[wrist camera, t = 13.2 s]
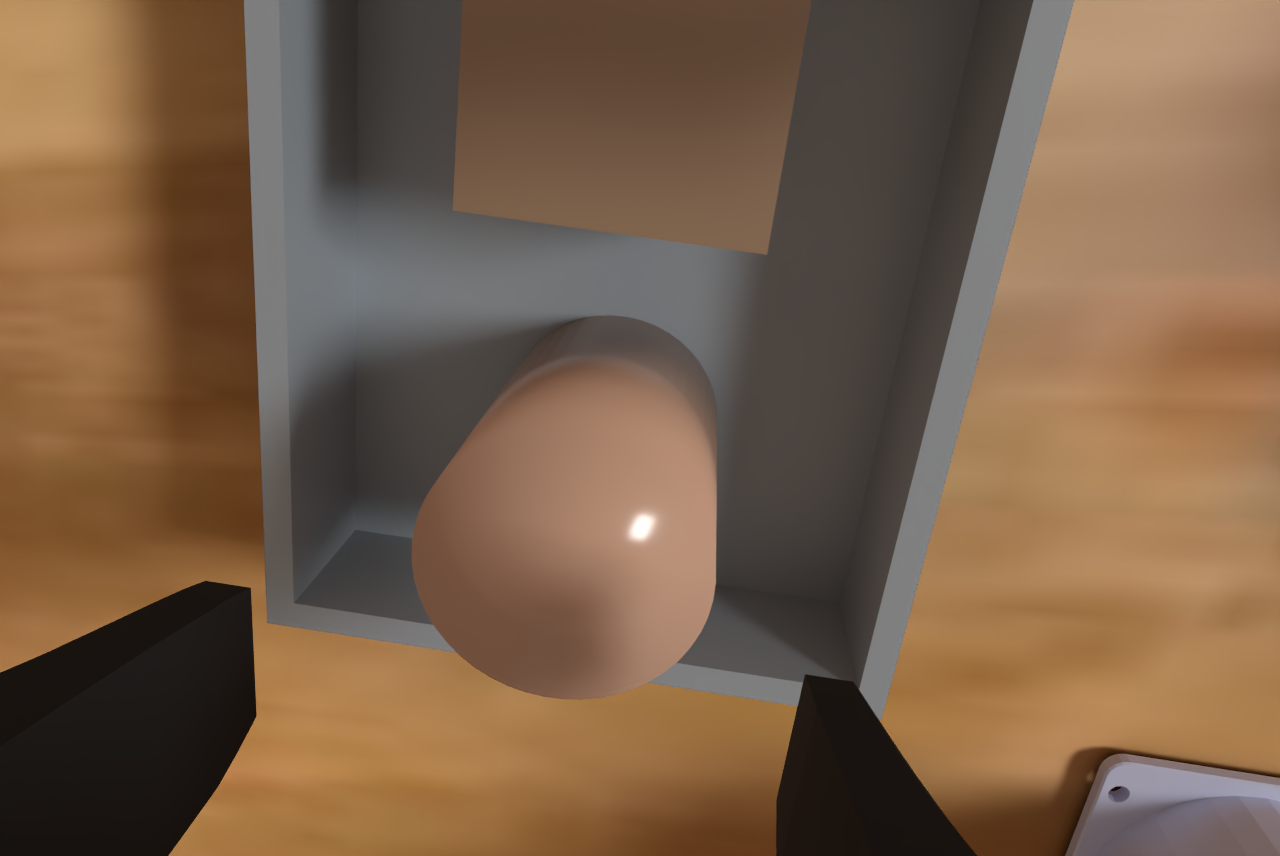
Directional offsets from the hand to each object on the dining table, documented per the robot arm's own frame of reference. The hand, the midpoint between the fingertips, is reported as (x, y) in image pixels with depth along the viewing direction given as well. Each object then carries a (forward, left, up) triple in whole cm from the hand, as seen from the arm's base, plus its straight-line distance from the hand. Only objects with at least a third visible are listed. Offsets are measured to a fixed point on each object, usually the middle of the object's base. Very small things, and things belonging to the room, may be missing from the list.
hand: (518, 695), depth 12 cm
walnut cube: (+8, 0, -10) cm, 12 cm away
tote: (+4, 0, -10) cm, 11 cm away
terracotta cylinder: (0, 0, -10) cm, 10 cm away
